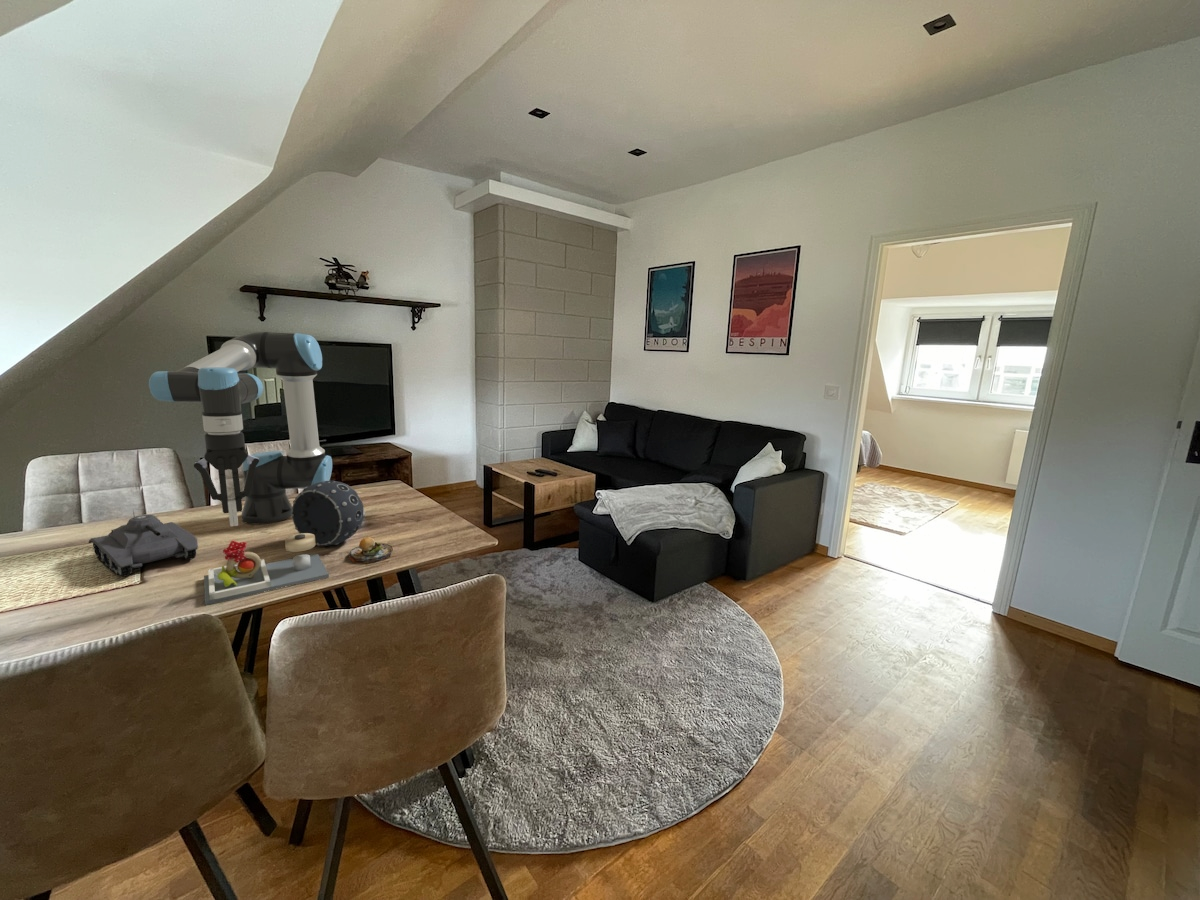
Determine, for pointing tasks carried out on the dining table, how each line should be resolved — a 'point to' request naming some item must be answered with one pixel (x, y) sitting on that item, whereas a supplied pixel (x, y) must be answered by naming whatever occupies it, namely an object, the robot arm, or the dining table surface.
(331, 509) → the dotted grey bowl
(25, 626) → the dining table surface
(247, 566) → the bird rattle
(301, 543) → the wheel
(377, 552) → the burger
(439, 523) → the dining table surface
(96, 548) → the toy tank
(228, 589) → the board
